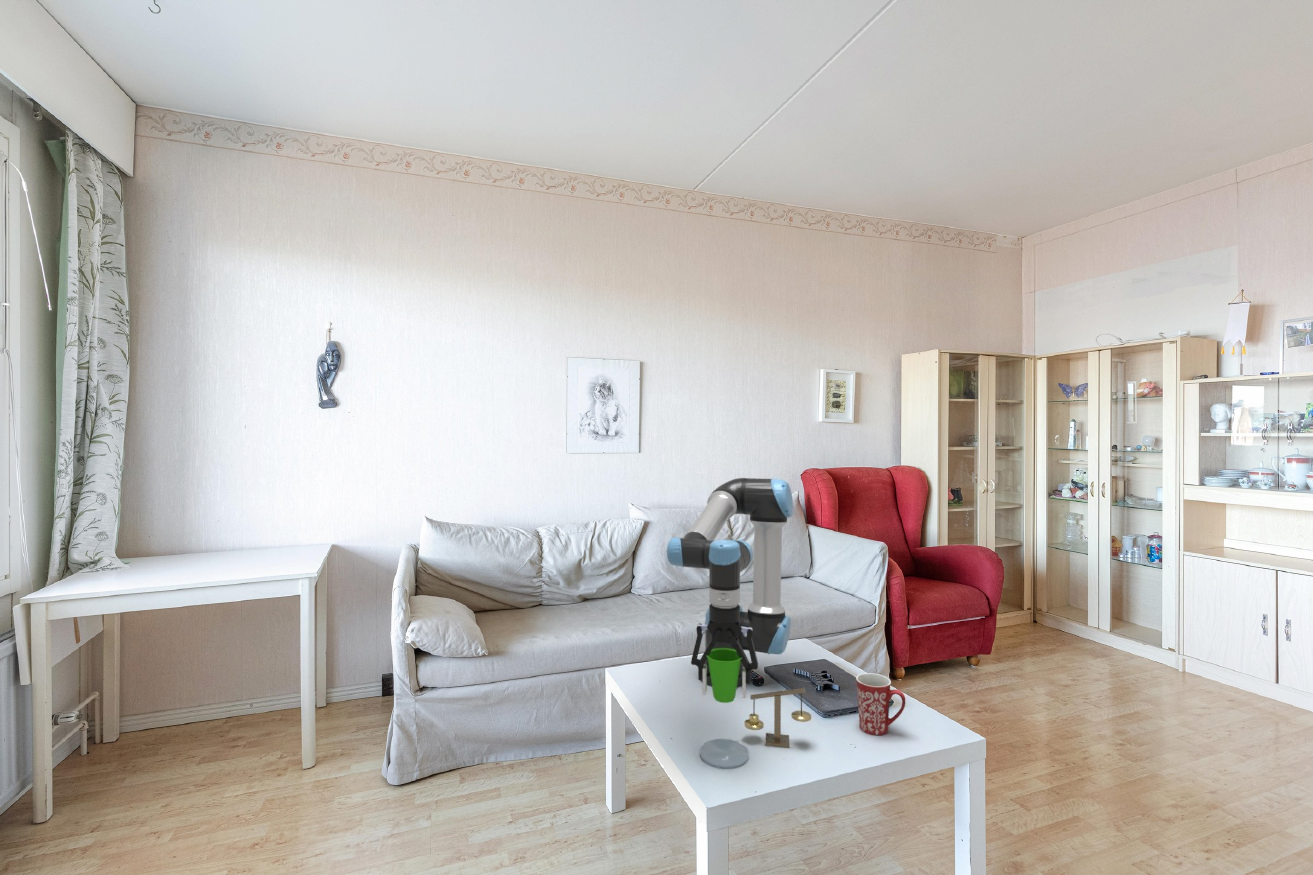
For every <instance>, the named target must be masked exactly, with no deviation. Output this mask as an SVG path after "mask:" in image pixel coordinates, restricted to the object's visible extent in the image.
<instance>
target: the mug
mask: <svg viewBox="0 0 1313 875" xmlns="http://www.w3.org/2000/svg"><path fill="white" fill-rule="evenodd" d="M855 680H856V690H857V707H858V709H857V710H858V722H859V725H858V726H859V729H860V730H861V731H862V732H864V733H866V734H869V735H871V736H883V735H886V734H887V733H889V732H888V731H889V726H890V725H892V724H893V723H894V722H895V721H896V720H897V719H898V718H899V717H900V716H901V715H902V713H903V712H904V710H905V707H906V697H905V694H904V693H903V692H902V691H901V690H900V689H891V685H892V681H891V678H889V677H887V676H885V675H883V674H879V673H875V672H874V673H873V672H868V673H867V672H864V673H859V674H858V675H856V677H855ZM894 695H898V696H899V697H900V699H901V707H900V708H899V710H898V711H897V712H896V714H894V715H893V716H892V717H891V718H890V717H889V716H890V700H891V699H892V697H893V696H894Z"/></svg>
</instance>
